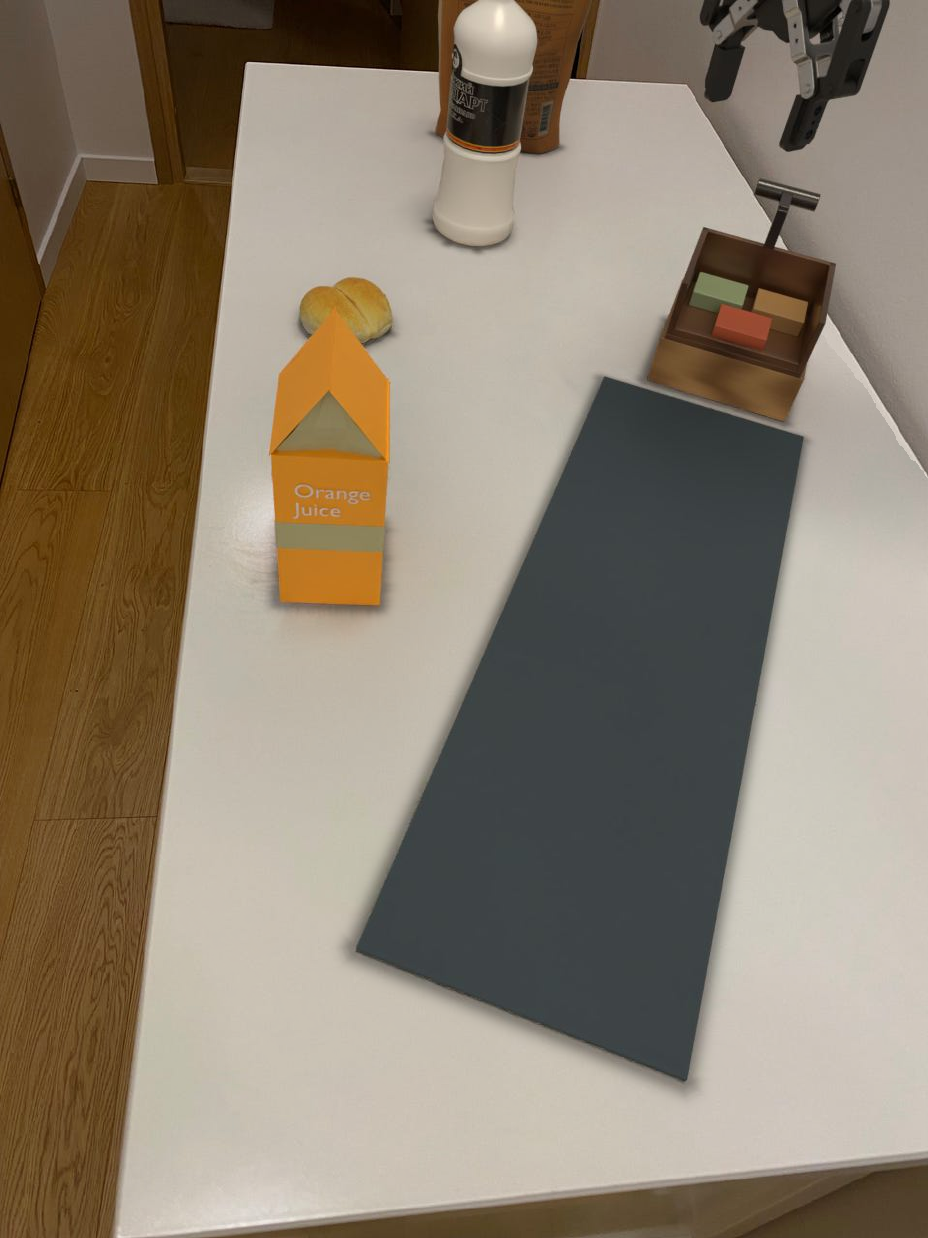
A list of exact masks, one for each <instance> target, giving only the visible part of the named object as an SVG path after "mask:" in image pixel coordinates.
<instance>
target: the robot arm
mask: <svg viewBox="0 0 928 1238" xmlns="http://www.w3.org/2000/svg"><path fill="white" fill-rule="evenodd" d="M721 2H722V3H721ZM890 5H891V0H703V2H702V6H701V9H700V13H699V23H700V24H701V26H703V27H708V28H709V29H710V30H711V31H710V32H712V41H713V43H714V46H713V50H712V55H711V57H710V61H709V64H708V65H709V66H708V68H707V72H706V75H705V79H704V88H705V90H704V94H703V96H704V99H706V100H708V101H709V102H710V103H717V102H724V101H727V100H729V98H730V97H731V96H732V93H733V90H734V88H735V83H736V80H737V77H738V73H739V71H740V67H741V64H742V61H743V57H744V54H745V51H746V46H744V45H743V44H742V42H744V41H746V40H747V39H748V38H749V37H750V36H751V35H752V34H753V33H754V32H755V31H756V30H757V29H758V28H759V29H761V30H763V31H769V32H773V34H774V35H775V36H776V37H777V38H778V40H780V41H782V42H784V43H786V44H789V48H790V49H789V51H790V58H791V61H792V62H793V63H794V64H795V65H796V67H797V75H798V85H799V94H796V95H795V98H794V100H793V103H792V106H791V108H790V111H789V114H788V116H787V120H786V123H785V126H784V127H783V128H784V129H783V132H782V134H781V137H780V140H779V142H778V143H779V144H778V145H779V148H780V149H782V150H783V151H785V152H786V153H790V152H795V151H801V150H803V149H804V148H805V147H806V146H807V145H810V144H811V143H812V142H813V141H814V139H815V138H816V134H817V132H818V129H819V126H820V124H821V121H822V118H823V116H824V113H825V111H826V107H827V105H828V103H829V101H831V100H836V99H842V98H848V97H853V96H856V95H858V94H859V92H860V91H861V88H862V86H863V83H864V80H865V77H866V75H867V72H868V69H869V66H870V62H871V60H872V57H873V55H874V52H875V49H876V46H877V43H878V40H879V38H880V34H881V33H882V29H883V26H884V23H885V20H886V18H887V14H888V11H889V9H890ZM840 14H842V17H840V18H839V16H840ZM817 35H819V43H812V42H811V40H812V39H813V38H815V37H816V36H817Z"/></svg>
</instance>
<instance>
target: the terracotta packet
mask: <svg viewBox="0 0 928 1238" xmlns="http://www.w3.org/2000/svg"><path fill="white" fill-rule="evenodd" d="M771 322H772V318H769V317H765V316H762V315H758V314H755V313H751V312H748V311H745V310H741V309H738V308H734V307H731V306H727V305H724V304H721V307H720V310H719V313H718V315H717V318H716V321H715V324H714V327H713V331H712V334H711V335H712V336H715V337H718V338H722V339H725V340H729V341H732V342H736V343H739V344H742V345H746V346H749V347H753V348H756V349H759V350H763V348H764V346H765V344H766V341H767V338H768V334H769V330H770V326H771Z"/></svg>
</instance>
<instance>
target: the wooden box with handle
mask: <svg viewBox="0 0 928 1238" xmlns="http://www.w3.org/2000/svg"><path fill="white" fill-rule="evenodd" d="M753 196H754V197H758V198H761V199H765V200H769V201H772V202H776V203H778V204H777V207H776V211H775V214H774V216H773V219H772V222H771V224H770V227H769V230H768V233H767V234H766V237H765V240H764V242H761V241H760V242H759V241H756V240H752V239H749V238H745V237H741V236H738V235H735V234H731V233H727V232H724V231H720V230H716V229H713V228H709V227H706V226H703V227H702V229H701V231H700V234H699V237H698V239H697V242H696V245H695V247H694V250H693V253H692V255H691V258H690V261H689V263H688V266H687V268H686V271H685V274H684V276H683V278H682V280H683V281H682V280H681V282H682V284H681V283H680V284H681V287H680V286H679V287H680V290H679V289H678V290H679V293H678V296H677V300H676V303H675V306H674V309H673V312H672V315H671V318H670V322H669V325H668V328H667V331H666V334H665V337H664V338H665V339H668V340H671V341H675V342H678V343H681V344H685V345H688V346H692V347H695V348H698V349H702V350H705V351H709V352H712V353H715V354H719V355H722V356H725V357H729V358H732V359H736V360H739V361H742V362H746V363H749V364H753V365H756V366H759V367H763V368H766V369H770V370H773V371H776V372H780V373H783V374H786V375H790V376H793V377H797V378H800V377H801V375H802V373H803V371H804V369H805V367H806V364H807V365H808V362H809V360H810V358H811V355H812V354H813V351H814V349H815V347H816V345H817V343H818V340H819V339H820V336H821V334H822V332H823V330H824V328H825V326H826V323H827V317H828V311H829V306H830V301H831V295H832V290H833V284H834V278H835V271H836V267H837V263H835V262H833V261H832V262H831V261H828V260H825V259H821V258H817V257H813V256H810V255H807V254H803V253H799V252H796V251H792V250H789V249H785V248H782V247H778V246H776V245H777V241H778V239H779V236H780V234H781V231H782V229H783V226H784V223H785V222H786V219H787V216H788V213H789V210H790V207H794V208H799V209H802V210H806V211H810V212H813V213H815V211H816V209H817V207H818V204H819V202H820V198H821V193H818V192H814V191H811V190H807V189H803V188H799V187H796V186H791V185H788V184H785V183H781V182H777V181H773V180H769V179H766V178H763V177H759V179H758V181H757V184H756V186H755V189H754V192H753ZM700 272H703V273H706V274H710V275H713V276H717V277H720V278H724V279H727V280H731V281H735V282H738V283H742V284H745V285H748V286H749V287H748V290H747V294H746V297H745V300H744V304H743V307H742V309H741V310H745V311H748V312H751V309H752V305H753V302H754V299H755V297H756V294H757V292H758V289H759V288H760V289H763V290H767V291H770V292H774V293H777V294H781V295H784V296H788V297H792V298H795V299H799V300H802V301H806V302H808V306H807V311H806V316H805V320H804V324H803V326H802V329H801V331H800V333H799V335H798V337H796V336H793V335H789V334H786V333H783V332H779V331H776V330H772V329H770V330H769V334H768V338H767V341H766V344H765V346H764V348H763V350H759V349H756V348H753V347H749V346H746V345H742V344H739V343H736V342H732V341H729V340H725V339H722V338H718V337H715V336H712V335H711V334H712V331H713V327H714V324H715V321H716V318H717V315H718V313H714V312H711V311H707V310H704V309H700V308H697V307H693V306H690V305H689V302H690V299H691V296H692V293H693V290H694V287H695V284H696V282H697V279H698V276H699V273H700ZM806 368H807V367H806Z"/></svg>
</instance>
